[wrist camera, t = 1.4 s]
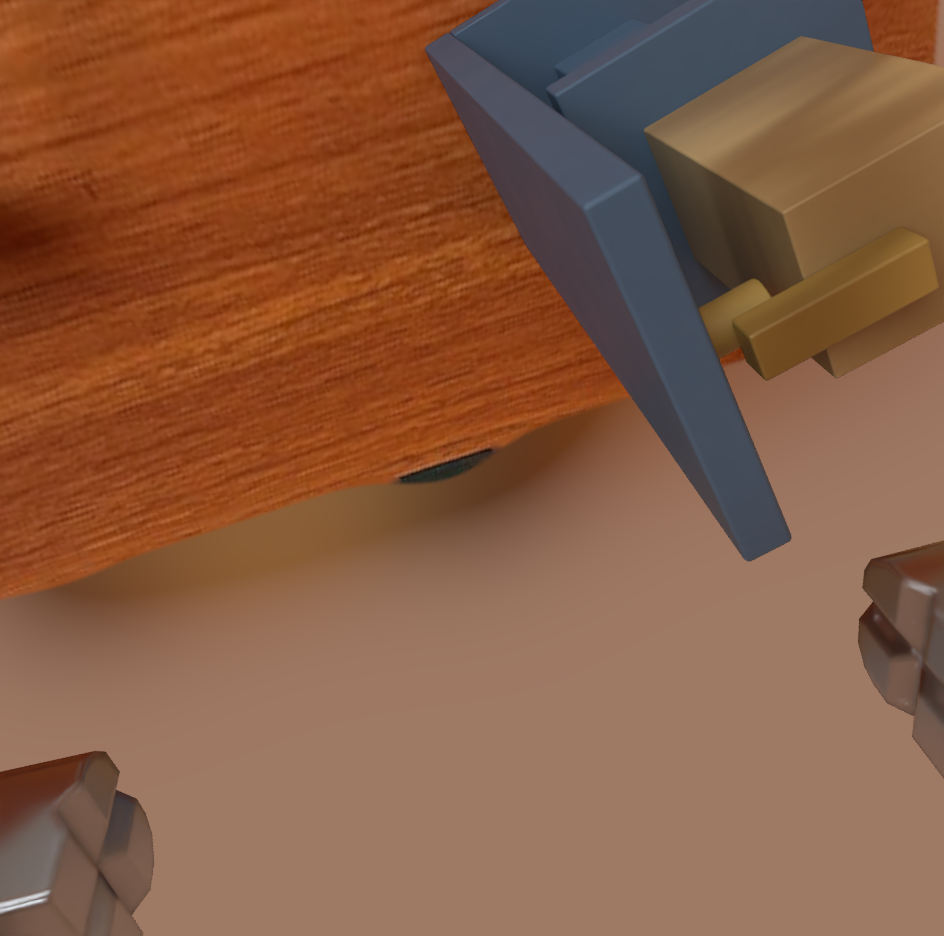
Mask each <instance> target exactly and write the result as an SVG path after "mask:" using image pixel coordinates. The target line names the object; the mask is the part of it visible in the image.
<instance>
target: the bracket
mask: <svg viewBox="0 0 944 936" xmlns="http://www.w3.org/2000/svg"><path fill="white" fill-rule="evenodd" d="M800 36H804V37H809V38H813V39H818V40H823V41H827V42H832V43H836V44H841V45H846V46H850V47H855V48H859V49H864V50H869V51H873V52H874V50H873V46H872V41H871V37H870V33H869V28H868V24H867V20H866V15H865V11H864V7H863V2H862V0H499V1H497V2H496V3H494V4H492V5H491V6H489V7H488V8H486V9H485V10H483V11H481V12H480V13H478V14H477V15H475V16H473V17H472V18H470V19H469V20H467V21H465V22H464V23H462V24H461V25H459V26H458V27H456V28H454V29H453V30H451V32H450V33H447V34H445V35H443V36H442V37H440V38H439V39H437V40H436V41H434V42H432V43H431V44H429V45H428V46H426V47H425V51H426V53H427V55H428V57H429V59H430V61H431V63H432V65H433V67H434V69H435V70H436V72H437V74H438V76H439V78H440V80H441V82H442V84H443V86H444V88H445V90H446V92H447V94H448V96H449V98H450V99H451V101H452V103H453V105H454V107H455V109H456V111H457V113H458V115H459V117H460V119H461V121H462V123H463V125H464V127H465V128H466V130H467V132H468V134H469V136H470V138H471V140H472V142H473V144H474V146H475V148H476V150H477V152H478V154H479V156H480V157H481V159H482V161H483V163H484V165H485V167H486V169H487V171H488V173H489V175H490V177H491V179H492V181H493V183H494V185H495V186H496V188H497V190H498V192H499V194H500V196H501V198H502V200H503V202H504V204H505V206H506V208H507V210H508V212H509V214H510V215H511V217H512V219H513V221H514V223H515V225H516V227H517V229H518V231H519V233H520V235H521V237H522V239H523V241H524V243H525V244H526V246H527V248H528V249H529V250H530V252H531V253H532V255H533V256H534V258H535V259H536V261H537V262H538V263H539V265H540V266H541V268H542V269H543V271H544V272H545V273H546V275H547V276H548V278H549V279H550V281H551V282H552V284H553V285H554V286H555V288H556V289H557V291H558V292H559V294H560V295H561V296H562V298H563V299H564V301H565V302H566V304H567V305H568V307H569V308H570V309H571V311H572V312H573V314H574V315H575V317H576V318H577V320H578V321H579V322H580V324H581V325H582V327H583V328H584V330H585V331H586V332H587V334H588V335H589V337H590V338H591V340H592V341H593V343H594V344H595V345H596V347H597V348H598V350H599V351H600V353H601V354H602V355H603V357H604V358H605V360H606V361H607V363H608V364H609V366H610V367H611V368H612V370H613V371H614V373H615V374H616V376H617V377H618V379H619V380H620V381H621V383H622V384H623V386H624V387H625V389H626V390H627V391H628V393H629V394H630V396H631V397H632V399H633V400H634V402H635V403H636V404H637V406H638V407H639V409H640V410H641V412H642V413H643V414H644V416H645V417H646V418H647V420H648V422H649V423H650V424H651V426H652V427H653V429H654V430H655V432H656V433H657V435H658V436H659V438H660V439H661V440H662V442H663V443H664V445H665V446H666V448H667V449H668V450H669V452H670V453H671V455H672V456H673V458H674V459H675V461H676V462H677V463H678V465H679V466H680V468H681V469H682V471H683V472H684V474H685V475H686V476H687V478H688V479H689V481H690V482H691V484H692V485H693V486H694V488H695V489H696V491H697V492H698V494H699V495H700V497H701V498H702V499H703V501H704V502H705V504H706V505H707V506H708V508H709V509H710V511H711V512H712V514H713V515H714V517H715V518H716V520H717V521H718V522H719V524H720V525H721V527H722V528H723V530H724V531H725V532H726V534H727V535H728V537H729V538H730V540H731V541H732V543H733V544H734V545H735V547H736V548H737V550H738V551H739V553H740V554H741V555H742V557H743V558H744V559H745V560H746V561H752V560H754V559H756V558H758V557H760V556H762V555H764V554H766V553H768V552H770V551H772V550H774V549H776V548H778V547H780V546H782V545H784V544H785V543H787V542H789V541H790V540H791V534H790V531H789V529H788V526H787V524H786V521H785V519H784V517H783V514H782V511H781V509H780V507H779V504H778V502H777V499H776V497H775V494H774V492H773V490H772V487H771V485H770V482H769V480H768V477H767V475H766V472H765V470H764V468H763V466H762V463H761V460H760V458H759V455H758V453H757V451H756V448H755V446H754V443H753V441H752V438H751V436H750V433H749V431H748V429H747V426H746V424H745V421H744V419H743V416H742V414H741V411H740V409H739V407H738V404H737V402H736V399H735V397H734V394H733V392H732V390H731V387H730V385H729V382H728V380H727V377H726V376H725V372H724V370H723V368H722V365H721V363H720V360H719V359H720V358H722V357H724V356H726V355H727V354H729V353H731V352H733V351H735V350H737V349H738V348H740V347H741V346H740V343H739V341H738V338H737V336H736V333H735V330H734V328H733V325H732V319H733V318H735V317H737V316H739V315H741V314H743V313H744V312H746V311H748V310H750V309H752V308H753V307H755V306H757V305H759V304H761V303H762V302H764V301H766V300H768V299H770V298H772V297H771V295H770V294H769V292H768V291H767V289H766V288H765V287H764V285H763V284H762V283H761V282H760V281H758V280H757V279H755V278H754V279H750V280H748V281H746V282H745V283H743V284H741V285H739V286H737V287H736V288H734V289H732V290H731V289H730V288H729V287H728V286H726V285H725V284H724V283H723V282H722V281H721V280H719V279H718V278H717V277H716V276H715V275H714V274H712V273H711V272H710V271H709V270H708V269H706V268H705V267H704V266H703V265H702V264H701V263H699V262H698V261H697V260H696V259H695V258H694V257H693V254H692V252H691V249H690V246H689V244H688V241H687V239H686V236H685V234H684V231H683V229H682V226H681V224H680V221H679V219H678V216H677V214H676V211H675V209H674V206H673V204H672V201H671V199H670V196H669V194H668V191H667V189H666V186H665V184H664V181H663V179H662V176H661V174H660V171H659V169H658V166H657V164H656V161H655V159H654V156H653V154H652V151H651V148H650V146H649V143H648V141H647V138H646V136H645V133H644V129H645V128H646V127H648V126H650V125H651V124H653V123H655V122H656V121H658V120H660V119H661V118H663V117H665V116H667V115H668V114H670V113H672V112H673V111H675V110H677V109H678V108H680V107H682V106H683V105H685V104H687V103H688V102H690V101H692V100H694V99H695V98H697V97H699V96H700V95H702V94H704V93H705V92H707V91H709V90H710V89H712V88H714V87H715V86H717V85H719V84H721V83H722V82H724V81H726V80H727V79H729V78H731V77H732V76H734V75H736V74H737V73H739V72H741V71H743V70H744V69H746V68H748V67H749V66H751V65H753V64H754V63H756V62H758V61H759V60H761V59H763V58H764V57H766V56H768V55H770V54H771V53H773V52H775V51H776V50H778V49H780V48H781V47H783V46H785V45H786V44H788V43H790V42H791V41H793V40H795V39H797V38H798V37H800Z"/></svg>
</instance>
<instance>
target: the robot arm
mask: <svg viewBox="0 0 944 936" xmlns="http://www.w3.org/2000/svg"><path fill="white" fill-rule="evenodd" d="M862 588H863V589H864V591H865V592H866V593H867V594H868V595H869V597H870V598H871V599H872V600H873V602H872V604H871V605H870V606H869V607H868V609H867V610H866V611H865V612H864V614H863V615H862V616H861V617H860V619H859V633H858V644H859V648H860V652H861V655H862V659H863V663H864V667H865V669H866V670H867V673H868V674H869V676H870V678H871V680H872V682H873V684H874V686H875V687H876V688H877V690H878V691H879V693H880V694H881V695H882V697H883V698H884V700H885V701H886V702H887V703H888V704H890V705H892V706H894V707H896V708H898V709H900V710H902V711H904V712H906V713H908V714H910V715H912V716H914V718H913V730H912V737H913V739H914V740H915V741H916V743H917V744H918V745H919V746H920V748H921V749H922V750H923V752H924V753H925V754H926V756H927V757H928V758H929V760H930V761H931V762H932V764H933V765H934V766H935V768H936V769H937V770H938V772H939V773H940V774H941V775H942V777H943V778H944V541H940V542H936V543H932V544H928V545H925V546H921V547H917V548H913V549H909V550H905V551H901V552H897V553H894V554H890V555H886V556H882V557H878V558H874V559H871V560H870V562H869V564H868V565H867V567H866V568H865V570H864V579H863V587H862ZM119 772H120V771H119V770H118V769H117V767H116V766H115V764H114V763H113V761H112V760H111V759H110V757H109V756H108V754H107V753H106V752H103V751H101V752H100V751H93V752H89V753H84V754H79V755H75V756H70V757H66V758H61V759H57V760H52V761H48V762H43V763H38V764H34V765H29V766H25V767H20V768H16V769H12V770H7V771H3V772H0V936H143V932H142V930H141V929H140V927H139V926H138V925H137V923H136V921H135V920H134V918H133V917H132V914H133V912H134V911H135V910H136V908H137V907H138V906H139V904H140V903H141V902H142V900H143V899H144V898H145V896H146V895H147V894H148V892H149V891H150V888H151V881H152V874H153V867H154V854H153V841H152V840H153V839H152V832H151V829H150V826H149V823H148V819H147V816H146V813H145V812H144V810H143V808H142V807H141V805H140V803H139V802H138V800H137V799H136V798H134V797H131V796H129V795H127V794H124V793H122V792H119V791H117V790H116V787H117V782H118V777H119Z"/></svg>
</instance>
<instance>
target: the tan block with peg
mask: <svg viewBox="0 0 944 936" xmlns="http://www.w3.org/2000/svg"><path fill="white" fill-rule="evenodd" d="M644 133H645V136H646V138H647V141H648V143H649V146H650V148H651V151H652V154H653V156H654V159H655V161H656V164H657V166H658V169H659V171H660V174H661V176H662V179H663V181H664V184H665V186H666V189H667V191H668V194H669V196H670V199H671V201H672V204H673V206H674V209H675V211H676V214H677V216H678V219H679V221H680V224H681V226H682V229H683V231H684V234H685V236H686V239H687V241H688V244H689V246H690V249H691V252H692V254H693V257H694V258H695V259H696V260H697V261H698V262H699V263H701V264H702V265H703V266H704V267H705V268H706V269H708V270H709V271H710V272H711V273H712V274H714V275H715V276H716V277H717V278H718V279H719V280H721V281H722V282H723V283H724V284H725V285H726V286H728V287H729V288H730V289H731V290H732V289H734V288H736V287H737V286H739V285H741V284H743V283H745V282H746V281H748V280H750V279H754V278H755V279H757V280H758V281H760V282H761V283H762V284H763V285H764V287H765V288H766V289H767V291H768V292H769V294H770V295H771V297H772V298H770V299H768V300H766V301H764V302H762V303H761V304H759V305H757V306H755V307H753V308H752V309H750V310H748V311H746V312H744V313H743V314H741V315H739V316H737V317H735V318H733V319H732V325H733V328H734V330H735V333H736V336H737V338H738V341H739V343H740V346H741V348H742V351H743V354H744V356H745V359H746V361H747V363H748V364H749V365H750V366H751V367H752V368H753V369H754V370H755V371H756V372H757V373H758V374H760V376H761V377H763V379H765V380H770V379H772V378H774V377H775V376H777V375H779V374H781V373H783V372H785V371H787V370H788V369H790V368H792V367H794V366H796V365H798V364H799V363H801V362H803V361H805V360H807V359H809V358H812V359H814V360H815V361H816V362H817V363H818V364H820V365H821V366H822V367H823V368H824V369H826V370H827V371H828V372H829V373H830V374H831V375H832V376H834V377H835V378H839V377H841V376H843V375H845V374H846V373H848V372H850V371H852V370H854V369H856V368H857V367H860V366H861V365H863V364H865V363H867V362H869V361H871V360H873V359H875V358H876V357H878V356H880V355H882V354H884V353H886V352H888V351H889V350H892V349H893V348H895V347H897V346H899V345H901V344H903V343H905V342H907V341H908V340H910V339H912V338H914V337H916V336H918V335H920V334H922V333H923V332H925V331H927V330H929V329H931V328H933V327H935V326H937V325H938V324H940V323H942V322H944V67H942V66H938V65H933V64H928V63H924V62H919V61H915V60H910V59H905V58H901V57H896V56H892V55H887V54H882V53H878V52H873V51H869V50H864V49H859V48H855V47H850V46H846V45H841V44H836V43H832V42H827V41H823V40H818V39H813V38H809V37H804V36H800V37H798V38H797V39H795V40H793V41H791V42H790V43H788V44H786V45H785V46H783V47H781V48H780V49H778V50H776V51H775V52H773V53H771V54H770V55H768V56H766V57H764V58H763V59H761V60H759V61H758V62H756V63H754V64H753V65H751V66H749V67H748V68H746V69H744V70H743V71H741V72H739V73H737V74H736V75H734V76H732V77H731V78H729V79H727V80H726V81H724V82H722V83H721V84H719V85H717V86H715V87H714V88H712V89H710V90H709V91H707V92H705V93H704V94H702V95H700V96H699V97H697V98H695V99H694V100H692V101H690V102H688V103H687V104H685V105H683V106H682V107H680V108H678V109H677V110H675V111H673V112H672V113H670V114H668V115H667V116H665V117H663V118H661V119H660V120H658V121H656V122H655V123H653V124H651V125H650V126H648V127H646V128H645V129H644Z"/></svg>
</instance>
